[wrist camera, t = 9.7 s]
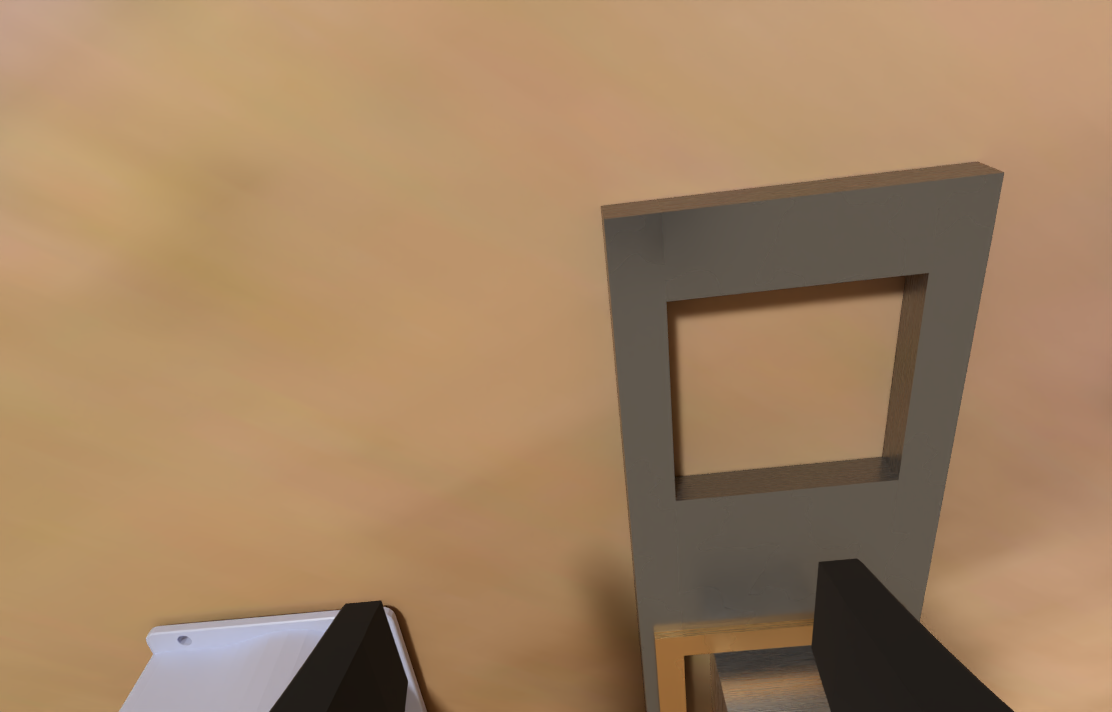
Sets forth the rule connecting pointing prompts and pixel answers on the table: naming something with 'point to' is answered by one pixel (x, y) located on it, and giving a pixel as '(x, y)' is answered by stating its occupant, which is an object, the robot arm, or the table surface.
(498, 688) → the table surface
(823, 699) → the metal block with knob
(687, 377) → the table surface
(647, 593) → the rail
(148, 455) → the table surface
